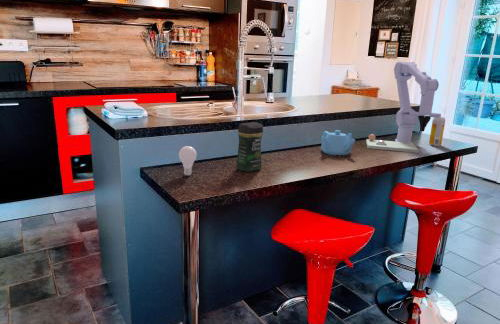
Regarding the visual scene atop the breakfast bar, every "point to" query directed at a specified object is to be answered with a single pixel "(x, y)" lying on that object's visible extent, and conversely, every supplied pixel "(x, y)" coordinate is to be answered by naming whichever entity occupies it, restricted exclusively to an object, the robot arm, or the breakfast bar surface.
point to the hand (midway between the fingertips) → (422, 130)
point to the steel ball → (381, 142)
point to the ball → (371, 137)
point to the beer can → (437, 131)
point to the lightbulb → (187, 158)
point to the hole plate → (392, 146)
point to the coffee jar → (249, 146)
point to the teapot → (336, 143)
